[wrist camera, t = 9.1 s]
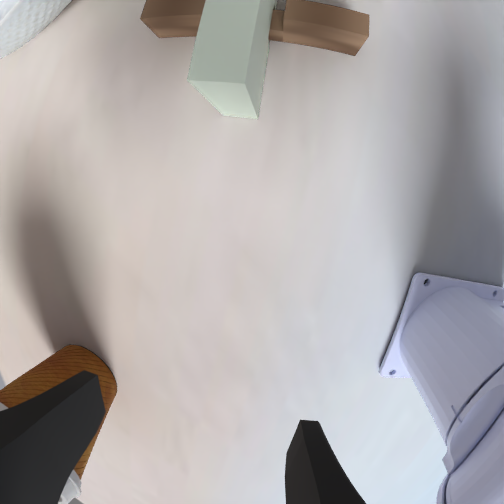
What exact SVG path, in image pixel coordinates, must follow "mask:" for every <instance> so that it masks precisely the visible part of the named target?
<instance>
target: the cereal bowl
mask: <svg viewBox="0 0 504 504" xmlns="http://www.w3.org/2000/svg"><path fill="white" fill-rule="evenodd" d="M71 1H72V0H0V59H1V58H3V57H4V56H7V55H9V54H10V53H12V52H14V51H16V50H17V49H18V48H20V47H22V46H23V45H24V44H25V43H27V42H29V41H30V40H31V39H32V38H34V37H35V36H36V35H37V34H38V33H40V32H41V31H42V30H43V29H44V28H45V27H46V26H47V25H48V24H49V23H50V22H51V21H52V20H54V18H56V17H57V16H58V14H59V13H61V11H62V10H63V9H64V8H65V7H66V6H67V5H68V4H69V3H70V2H71Z"/></svg>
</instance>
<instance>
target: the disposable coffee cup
mask: <svg viewBox="0 0 504 504" xmlns="http://www.w3.org/2000/svg"><path fill="white" fill-rule="evenodd" d="M83 370H86V371H88V372H91V373H94V374H96V375H98V378H99V383H100V388H101V393H102V397H103V402H104V406H105V410H106V413H105V415H104V418H103V420H102V422H101V424H100V427H99V429H98V431H97V433H96V434H95V436H94V438H93V439H92V441H91V442H90V444H89V446H88V447H87V449H86V450H85V452H84V453H83V455H82V457H81V458H80V460H79V461H78V463H77V464H76V466H75V468H74V469H73V471H72V473H71V474H70V476H69V478H68V480H67V482H66V485H65V487H64V489H63V491H62V494H61V496H60V499H59V502H58V504H68V503H69V502H70V501H71V500H72V499H73V498H78V497H80V495H81V489H80V487H81V481H80V480H81V477H82V474H83V472H84V469H85V466H86V464H87V462H88V459H89V457H90V454H91V451H92V449H93V446H94V444H95V441H96V439H97V436H98V434H99V432H100V429H101V428H102V424H103V423H104V420H105V418H106V415H107V413H108V411H109V408H110V406H111V404H112V402H113V399H114V397H115V396H116V393H117V385H116V381H115V378H114V376H113V375H112V373H111V371H110V370H109V368H108V367H107V366H106V365H105V363H104V362H103V361H102V360H101V359H100V358H99V357H97V356H96V355H95V354H93V353H92V352H91V351H89V350H87V349H85V348H83V347H81V346H77V345H68V346H65V347H64V348H62V349H61V350H59V351H58V352H56V353H55V354H53V355H52V356H50V357H49V358H47V359H46V360H44V361H43V362H41V363H40V364H38V365H37V366H35V367H34V368H32V369H31V370H29V371H28V372H26V373H25V374H23V375H22V376H20V377H18V378H17V379H16V380H14V381H13V382H11V383H10V384H8V385H7V386H6V387H4V388H3V389H2V390H0V411H2V410H5V409H8V408H11V407H13V406H16V405H18V404H20V403H22V402H25V401H27V400H29V399H31V398H33V397H35V396H38V395H39V394H41V393H43V392H45V391H47V390H49V389H51V388H53V387H54V386H56V385H58V384H60V383H62V382H63V381H65V380H67V379H69V378H71V377H72V376H74V375H76V374H78V373H80V372H82V371H83Z"/></svg>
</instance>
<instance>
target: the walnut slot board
mask: <svg viewBox="0 0 504 504" xmlns="http://www.w3.org/2000/svg"><path fill="white" fill-rule="evenodd" d="M205 1H206V0H146V3H145V6H144V9H143V12H142V15H141V18H140V19H141V20H142V21H143V22H144V23H145V24H146V25H147V26H148V27H149V28H150V29H151V30H152V31H153V32H154V33H155V34H156V35H157V36H158V37H159V38H165V37H189V36H197V32H198V28H199V24H200V20H201V16H202V12H203V8H204V5H205ZM368 37H369V15H368V14H364V13H360V12H357V11H353V10H349V9H345V8H341V7H336V6H332V5H327V4H322V3H317V2H311V1H305V0H286V7H285V11H282V10H274V9H273V12H272V18H271V24H270V30H269V36H268V39H269V40H272V41H281V42H288V43H295V44H301V45H307V46H312V47H318V48H323V49H328V50H332V51H337V52H341V53H345V54H349V55H353V56H355V55H356V54H357V52H358V51H359V49H360V48H361V47H362V45H363V44H364V42H365V41H366V40H367V38H368Z"/></svg>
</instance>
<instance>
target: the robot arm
mask: <svg viewBox="0 0 504 504" xmlns="http://www.w3.org/2000/svg"><path fill="white" fill-rule="evenodd" d="M426 279H428V281H427V283H426V284H424V281H425V280H426ZM493 292H494V294H493ZM503 301H504V288H503V287H500V286H494V285H488V284H483V283H477V282H472V281H466V280H460V279H455V278H449V277H443V276H438V275H432V274H426V273H417V274H415V275H414V277H413V279H412V282H411V285H410V288H409V291H408V295H407V298H406V301H405V304H404V307H403V310H402V313H401V315H400V318H399V321H398V324H397V326H396V329H395V332H394V334H393V337H392V340H391V342H390V345H389V347H388V350H387V352H386V355H385V357H384V359H383V362H382V364H381V366H380V369H379V373H380V376H382V377H397V378H412V380H413V382H414V384H415V385H416V387H417V389H418V391H419V393H420V395H421V397H422V398H423V400H424V402H425V404H426V406H427V408H428V410H429V412H430V414H431V416H432V418H433V420H434V422H435V424H436V426H437V428H438V430H439V432H440V434H441V436H442V438H443V440H444V442H445V444H446V446H447V453H446V455H445V456H444V457H443V459H442V460H443V463H444V465H445V467H446V470H447V472H448V474H447V475H446V477H445V478H444V479H443V481H442V483H441V485H440V487H439V490H438V494H437V504H504V302H503ZM391 370H393V371H392V372H390V371H391ZM105 413H106V410H105V406H104V402H103V397H102V393H101V388H100V383H99V378H98V375H96V374H94V373H91V372H88V371H86V370H83V371H82V372H80V373H78V374H76V375H74V376H72V377H71V378H69V379H67V380H65V381H63V382H62V383H60V384H58V385H56V386H54V387H53V388H51V389H49V390H47V391H45V392H43V393H41V394H39V395H38V396H35V397H33V398H31V399H29V400H27V401H25V402H22V403H20V404H18V405H16V406H13V407H11V408H8V409H5V410H2V411H0V504H58V502H59V499H60V496H61V494H62V491H63V489H64V487H65V485H66V482H67V480H68V478H69V476H70V474H71V473H72V471H73V469H74V468H75V466H76V464H77V463H78V461H79V460H80V458H81V457H82V455H83V453H84V452H85V450H86V449H87V447H88V446H89V444H90V442H91V441H92V439H93V438H94V436H95V434H96V433H97V431H98V429H99V427H100V424H101V422H102V420H103V418H104V415H105ZM285 492H286V504H366V503H365V501H364V500H363V499H362V497H361V496H360V495H359V493H358V492H357V491H356V489H355V488H354V486H353V485H352V483H351V482H350V480H349V479H348V477H347V475H346V474H345V472H344V470H343V469H342V467H341V465H340V463H339V462H338V460H337V458H336V456H335V454H334V452H333V450H332V449H331V447H330V445H329V443H328V440H327V438H326V436H325V434H324V432H323V430H322V427H321V425H320V423H319V422H318V421H309V420H300V422H299V424H298V427H297V429H296V432H295V434H294V437H293V439H292V441H291V444H290V446H289V449H288V451H287V455H286V468H285Z"/></svg>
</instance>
